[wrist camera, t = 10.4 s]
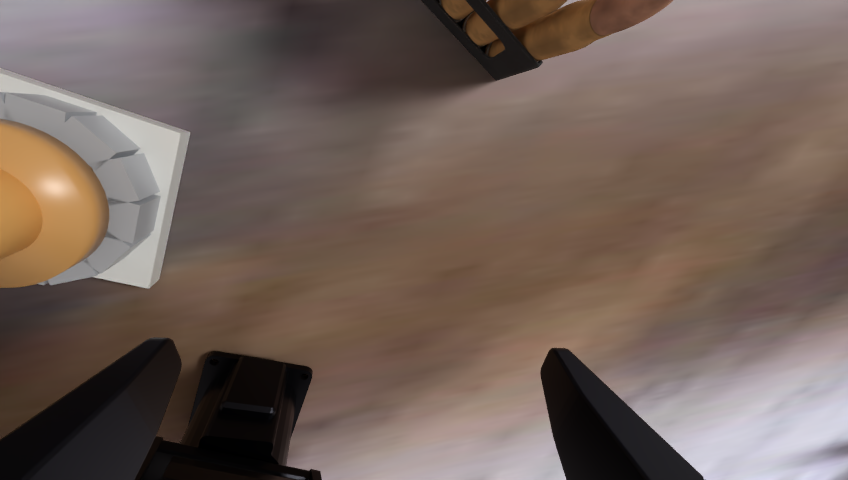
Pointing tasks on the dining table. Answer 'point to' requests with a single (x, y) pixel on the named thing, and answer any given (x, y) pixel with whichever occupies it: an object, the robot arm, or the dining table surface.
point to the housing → (110, 173)
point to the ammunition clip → (535, 27)
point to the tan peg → (45, 206)
